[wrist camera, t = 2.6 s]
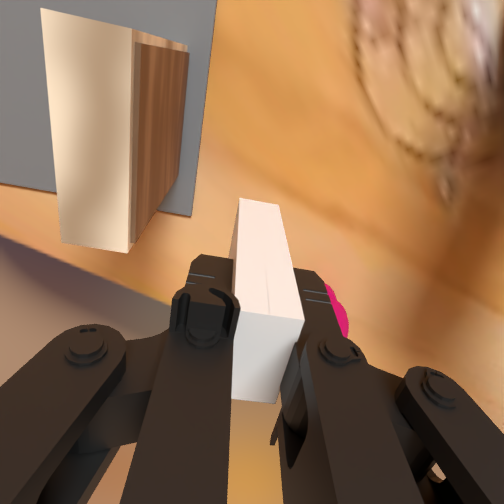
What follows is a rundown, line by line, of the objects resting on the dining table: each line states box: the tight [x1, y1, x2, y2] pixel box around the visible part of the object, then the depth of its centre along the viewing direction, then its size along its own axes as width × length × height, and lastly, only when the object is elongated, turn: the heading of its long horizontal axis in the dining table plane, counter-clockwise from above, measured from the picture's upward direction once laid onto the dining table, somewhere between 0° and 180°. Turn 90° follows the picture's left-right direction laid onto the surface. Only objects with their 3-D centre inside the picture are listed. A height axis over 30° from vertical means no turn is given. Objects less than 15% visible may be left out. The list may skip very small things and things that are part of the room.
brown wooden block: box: [40, 8, 190, 253], centre depth 25 cm, size 4×12×16 cm, turn 169°
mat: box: [0, 0, 217, 216], centre depth 31 cm, size 26×21×1 cm
